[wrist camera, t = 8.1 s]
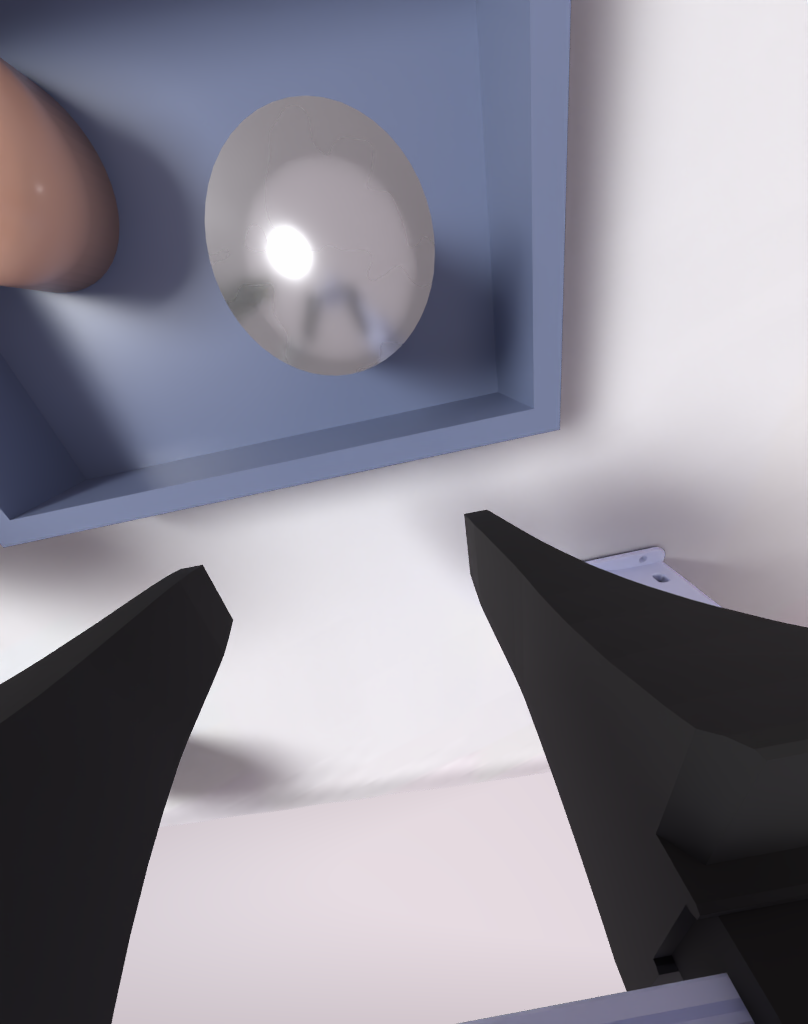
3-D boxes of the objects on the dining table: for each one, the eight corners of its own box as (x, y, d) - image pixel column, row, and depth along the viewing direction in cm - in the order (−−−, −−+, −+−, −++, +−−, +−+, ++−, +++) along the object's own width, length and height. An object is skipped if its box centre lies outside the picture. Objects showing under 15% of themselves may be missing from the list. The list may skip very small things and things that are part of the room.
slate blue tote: (490, -143, 10) (584, -505, 6) (512, 404, 18) (559, 429, 13) (-232, 18, 10) (-677, -214, 6) (93, 494, 18) (3, 547, 13)
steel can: (393, 197, 13) (418, 73, 7) (414, 345, 15) (445, 355, 9) (260, 223, 13) (160, 121, 7) (301, 367, 15) (255, 392, 9)
